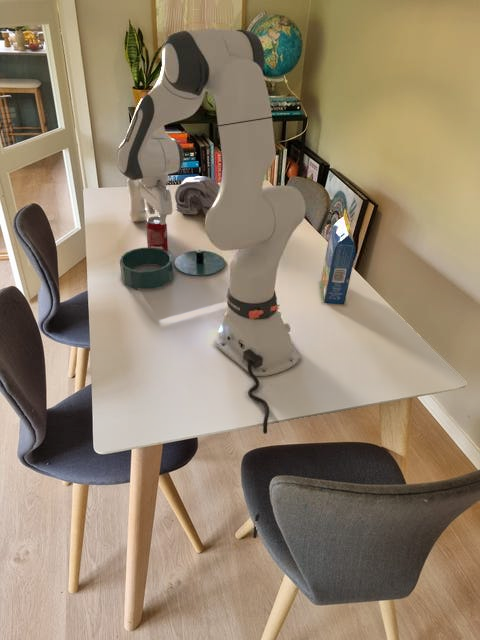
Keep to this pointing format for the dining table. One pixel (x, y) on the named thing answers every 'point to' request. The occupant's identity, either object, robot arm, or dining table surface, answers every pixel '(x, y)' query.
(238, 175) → the robot arm
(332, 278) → the blue food package
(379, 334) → the dining table surface
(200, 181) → the grey cloth bundle
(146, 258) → the pan
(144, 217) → the plastic bottle
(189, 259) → the pan lid
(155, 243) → the soda can
